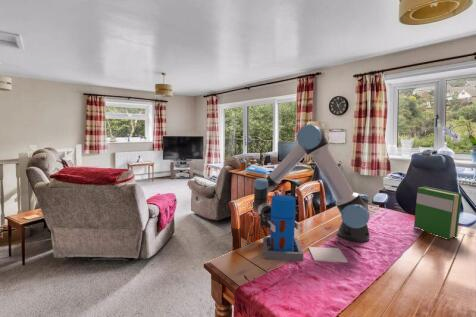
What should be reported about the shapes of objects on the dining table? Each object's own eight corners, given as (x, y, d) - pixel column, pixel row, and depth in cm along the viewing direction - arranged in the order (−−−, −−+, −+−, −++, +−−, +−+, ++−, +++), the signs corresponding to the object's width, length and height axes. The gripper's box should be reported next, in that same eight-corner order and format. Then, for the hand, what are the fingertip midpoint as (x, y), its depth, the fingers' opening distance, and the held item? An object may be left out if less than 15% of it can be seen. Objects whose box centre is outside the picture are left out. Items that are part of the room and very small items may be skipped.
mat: (338, 249, 121) (338, 248, 121) (347, 262, 109) (347, 261, 109) (308, 248, 122) (308, 246, 122) (314, 260, 110) (314, 259, 110)
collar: (296, 243, 127) (297, 237, 126) (302, 260, 110) (303, 254, 110) (263, 242, 128) (263, 236, 127) (264, 258, 111) (264, 252, 111)
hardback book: (456, 238, 137) (462, 193, 134) (448, 240, 134) (453, 195, 131) (421, 226, 153) (425, 186, 150) (413, 228, 150) (417, 187, 147)
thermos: (293, 257, 113) (295, 202, 110) (268, 255, 115) (270, 200, 112) (293, 246, 123) (295, 195, 120) (270, 244, 125) (272, 194, 123)
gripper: (287, 217, 138) (309, 233, 117) (245, 221, 132) (261, 238, 111) (287, 203, 138) (310, 217, 117) (246, 206, 131) (262, 221, 110)
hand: (286, 227), depth 114 cm, fingers closed on thermos, 11 cm apart
